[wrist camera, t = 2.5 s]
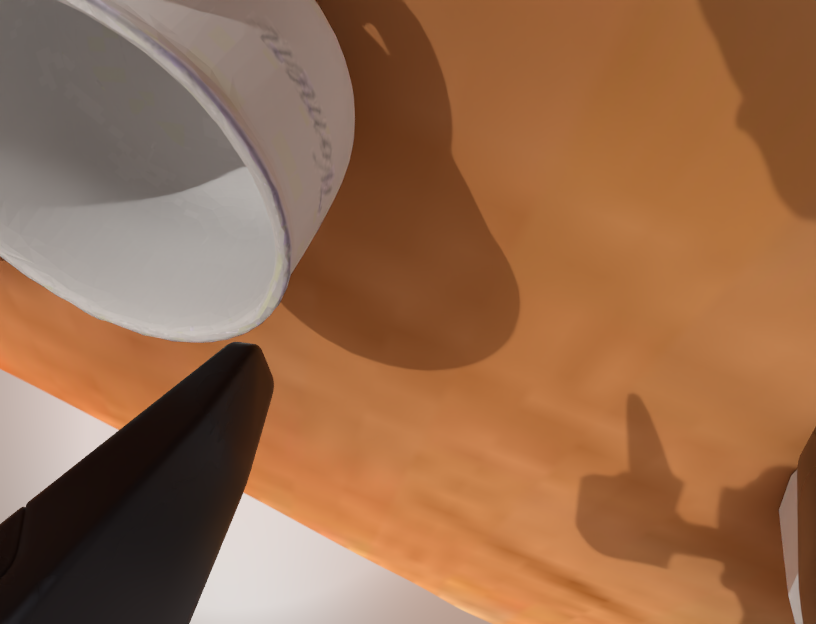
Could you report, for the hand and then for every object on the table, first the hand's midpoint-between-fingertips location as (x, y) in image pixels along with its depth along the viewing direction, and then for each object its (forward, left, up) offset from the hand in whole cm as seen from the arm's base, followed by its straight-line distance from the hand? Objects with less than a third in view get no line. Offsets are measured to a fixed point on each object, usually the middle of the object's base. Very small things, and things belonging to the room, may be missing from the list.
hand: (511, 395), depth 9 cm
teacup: (+10, 0, -13) cm, 17 cm away
